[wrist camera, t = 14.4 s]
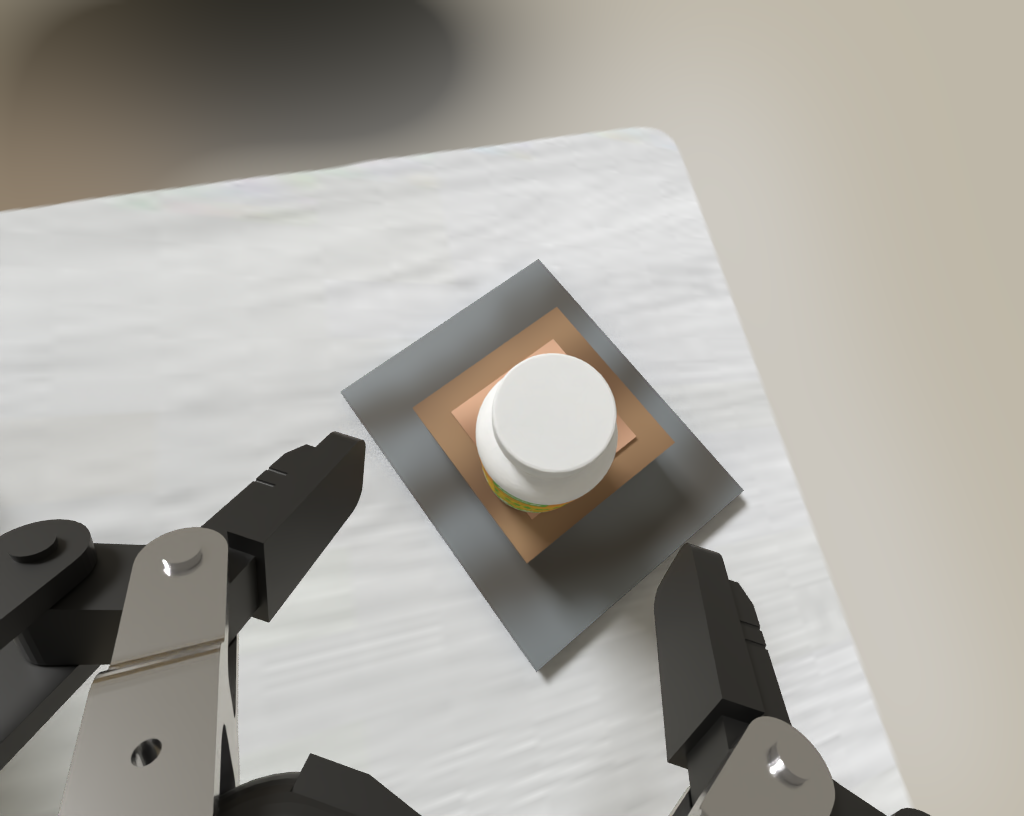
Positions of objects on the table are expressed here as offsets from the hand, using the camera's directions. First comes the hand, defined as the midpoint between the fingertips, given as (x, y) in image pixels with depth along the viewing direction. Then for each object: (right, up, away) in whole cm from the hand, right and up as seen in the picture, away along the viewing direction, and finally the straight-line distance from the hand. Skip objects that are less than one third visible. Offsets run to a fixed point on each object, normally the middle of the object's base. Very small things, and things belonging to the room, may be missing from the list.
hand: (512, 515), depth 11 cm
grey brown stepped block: (+2, 0, +18) cm, 18 cm away
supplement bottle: (+1, 0, +13) cm, 13 cm away
